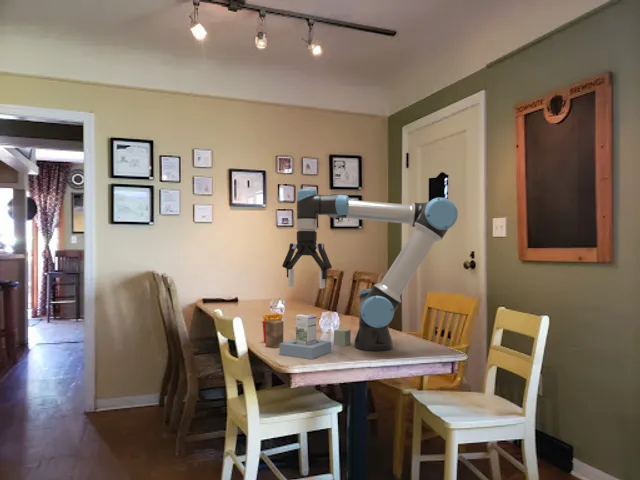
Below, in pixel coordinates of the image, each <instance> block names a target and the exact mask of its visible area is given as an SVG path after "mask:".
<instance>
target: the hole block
mask: <svg viewBox="0 0 640 480" xmlns="http://www.w3.org/2000/svg"><path fill="white" fill-rule="evenodd" d="M278 349H279V351H278V352H279V356H287V357H292V358H300V359H306V360H315V359H317V358H320V357H322V356H325V355H328V354H329V353H332V340H331V341H330V340H321V339H316V344H313V345H310V346H308V345H300V344H296V338H294V339H291V340H288V341H285V342H284V341H283V343H281V344H280V347H279V348H278Z"/></svg>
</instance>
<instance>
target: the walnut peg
mask: <svg viewBox="0 0 640 480" xmlns="http://www.w3.org/2000/svg"><path fill="white" fill-rule="evenodd" d="M281 343H284V320H282V321H277V320H272V321H267V322H266V343H265V348H271V349H280V344H281Z"/></svg>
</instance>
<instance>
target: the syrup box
mask: <svg viewBox="0 0 640 480" xmlns="http://www.w3.org/2000/svg"><path fill="white" fill-rule="evenodd" d="M295 339H296V344H300V345H308V346H310V345H313V344H316V340H317V314H311V313H300V314H296V315H295Z"/></svg>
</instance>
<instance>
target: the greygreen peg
mask: <svg viewBox="0 0 640 480" xmlns="http://www.w3.org/2000/svg"><path fill="white" fill-rule="evenodd" d="M351 331H352V330H351V329H349V328H337V329H334V330H333V345H334V346H339V347H340V346H341V347H347V346H350V345H351V334H352V333H351Z"/></svg>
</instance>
